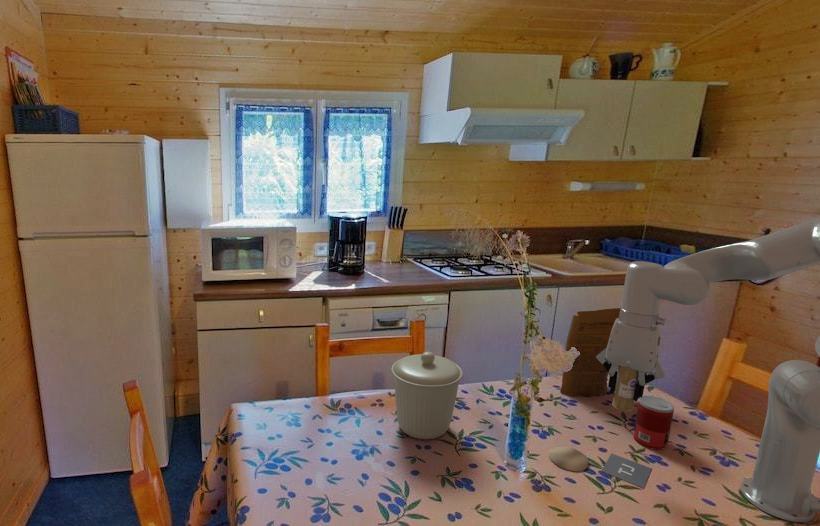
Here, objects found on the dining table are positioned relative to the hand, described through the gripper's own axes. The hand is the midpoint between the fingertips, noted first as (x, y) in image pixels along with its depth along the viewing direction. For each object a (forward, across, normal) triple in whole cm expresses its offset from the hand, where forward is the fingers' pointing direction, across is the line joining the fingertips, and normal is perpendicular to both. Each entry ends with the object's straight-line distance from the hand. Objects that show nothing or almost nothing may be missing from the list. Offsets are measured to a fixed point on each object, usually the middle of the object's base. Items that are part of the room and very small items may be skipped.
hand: (624, 394), depth 106 cm
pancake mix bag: (+19, +16, -34) cm, 42 cm away
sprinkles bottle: (+3, 0, 0) cm, 3 cm away
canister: (+20, +43, +16) cm, 50 cm away
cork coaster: (+19, +9, +4) cm, 21 cm away
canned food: (+19, -5, -18) cm, 27 cm away
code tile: (+19, -3, -1) cm, 19 cm away
